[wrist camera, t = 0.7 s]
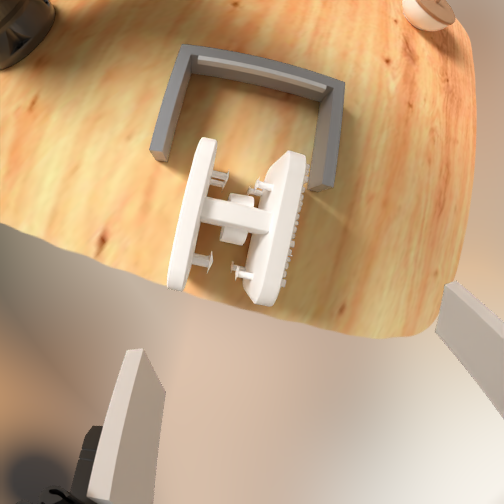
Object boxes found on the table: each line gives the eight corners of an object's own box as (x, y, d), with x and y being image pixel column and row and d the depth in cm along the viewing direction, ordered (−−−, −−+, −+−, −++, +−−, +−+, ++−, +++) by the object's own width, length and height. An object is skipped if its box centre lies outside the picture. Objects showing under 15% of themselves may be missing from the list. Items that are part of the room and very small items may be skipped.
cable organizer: (202, 154, 36) (202, 121, 24) (283, 174, 37) (316, 152, 26) (174, 272, 36) (162, 291, 25) (257, 289, 38) (281, 314, 26)
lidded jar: (410, 37, 39) (438, 15, 30) (384, -3, 38) (407, -27, 29) (442, 40, 41) (468, 23, 31) (417, 3, 39) (440, -17, 30)
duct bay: (183, 63, 34) (182, 43, 29) (330, 96, 38) (345, 82, 33) (156, 160, 35) (149, 149, 30) (317, 192, 38) (333, 187, 33)
